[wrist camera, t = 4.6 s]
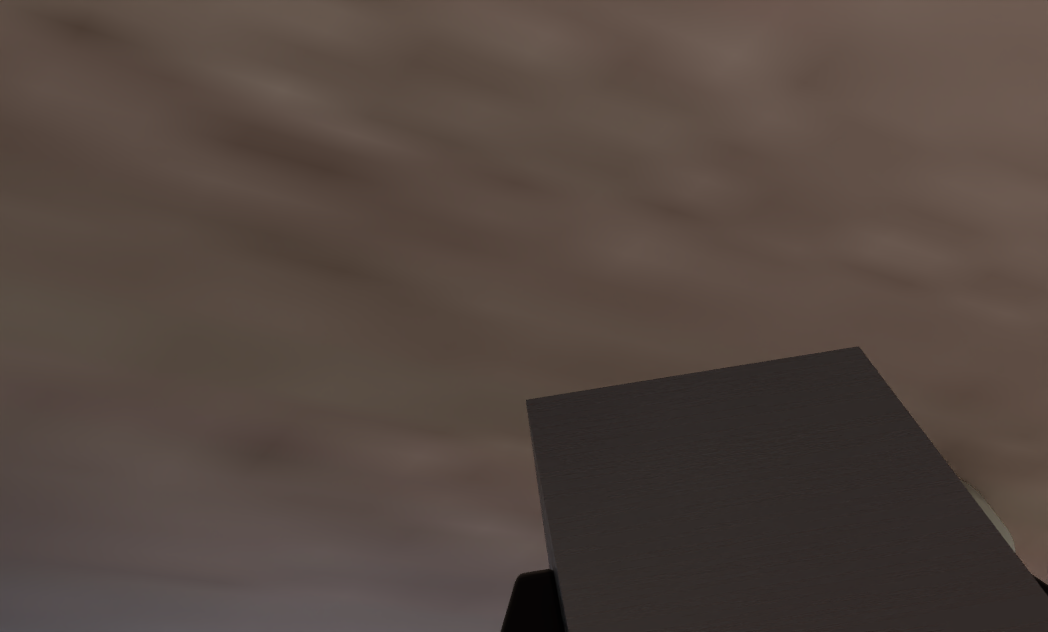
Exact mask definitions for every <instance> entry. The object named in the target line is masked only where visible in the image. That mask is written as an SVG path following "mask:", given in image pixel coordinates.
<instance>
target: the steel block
mask: <svg viewBox="0 0 1048 632" xmlns="http://www.w3.org/2000/svg"><path fill="white" fill-rule="evenodd" d="M526 405H527V412H528V419H529V426H530V433H531V440H532V447H533V454H534V461H535V468H536V475H537V482H538V489H539V496H540V503H541V511H542V518H543V525H544V532H545V539H546V546H547V553H548V560H549V567H550V569H551V570H553V572H554V577H555V583H556V588H557V593H558V599H559V604H560V609H561V615H562V620H563V625H564V631H565V632H1048V596H1047V594H1046V593H1045V592H1044V590H1043V589H1042V588H1041V586H1040V585H1039V584H1038V582H1037V581H1036V580H1035V578H1034V577H1033V576H1032V575H1031V573H1030V572H1029V571H1028V569H1027V568H1026V567H1025V565H1024V564H1023V563H1022V561H1021V560H1020V559H1019V557H1018V556H1017V555H1016V553H1015V552H1014V551H1013V549H1012V548H1011V547H1010V545H1009V544H1008V543H1007V542H1006V540H1005V539H1004V538H1003V536H1002V535H1001V534H1000V532H999V531H998V530H997V528H996V527H995V526H994V524H993V523H992V522H991V520H990V519H989V518H988V516H987V515H986V514H985V513H984V511H983V510H982V509H981V507H980V506H979V505H978V503H977V502H976V501H975V499H974V498H973V497H972V495H971V494H970V493H969V491H968V490H967V489H966V487H965V486H964V485H963V483H962V482H961V481H960V480H959V478H958V477H957V476H956V474H955V473H954V472H953V470H952V469H951V468H950V466H949V465H948V464H947V462H946V461H945V460H944V458H943V457H942V456H941V454H940V453H939V452H938V450H937V449H936V448H935V447H934V445H933V444H932V443H931V441H930V440H929V439H928V437H927V436H926V435H925V433H924V432H923V431H922V429H921V428H920V427H919V425H918V424H917V423H916V421H915V420H914V419H913V418H912V416H911V415H910V414H909V412H908V411H907V410H906V408H905V407H904V406H903V404H902V403H901V402H900V400H899V399H898V398H897V396H896V395H895V394H894V392H893V391H892V390H891V388H890V387H889V386H888V385H887V383H886V382H885V381H884V379H883V378H882V377H881V375H880V374H879V373H878V371H877V370H876V369H875V367H874V366H873V365H872V363H871V362H870V361H869V359H868V358H867V357H866V355H865V354H864V353H863V352H862V350H861V349H860V348H859V347H852V348H846V349H840V350H834V351H827V352H821V353H815V354H809V355H803V356H796V357H790V358H784V359H778V360H771V361H765V362H759V363H753V364H747V365H740V366H734V367H728V368H722V369H715V370H709V371H703V372H697V373H691V374H684V375H678V376H672V377H666V378H659V379H653V380H647V381H641V382H635V383H628V384H622V385H616V386H610V387H603V388H597V389H591V390H585V391H579V392H572V393H566V394H560V395H554V396H547V397H541V398H535V399H529V400H526Z"/></svg>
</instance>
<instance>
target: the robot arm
mask: <svg viewBox="0 0 1048 632" xmlns="http://www.w3.org/2000/svg"><path fill="white" fill-rule="evenodd" d="M1031 575H1032V574H1031ZM1032 576H1033V577H1034V578H1035V580H1036V581H1037V582H1038V584H1039V585H1040V586H1041V588H1042V589H1043V590H1044V592H1045V593H1046V594H1047V596H1048V585H1047V584H1045V583H1044V582H1043V581H1041V580H1040V579H1038V578H1037V577H1035V576H1034V575H1032ZM501 632H565V631H564V625H563V620H562V615H561V609H560V604H559V599H558V593H557V588H556V583H555V577H554V572H553V570H551V569H545V570H539V571H533V572H527V573H522V574H520V575H519V576H518V577H517V579H516V581H515V584H514V587H513V591H512V594H511V598H510V601H509V605H508V608H507V612H506V615H505V619H504V622H503V626H502V629H501Z"/></svg>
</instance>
